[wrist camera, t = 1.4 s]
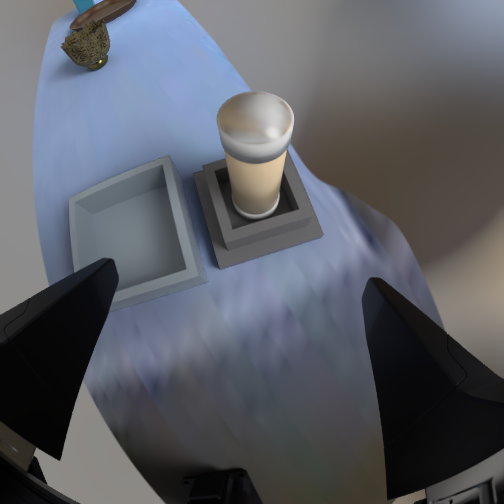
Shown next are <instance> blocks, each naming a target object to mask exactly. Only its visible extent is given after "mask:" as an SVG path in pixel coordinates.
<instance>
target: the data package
mask: <svg viewBox="0 0 504 504" xmlns="http://www.w3.org/2000/svg"><path fill="white" fill-rule="evenodd" d="M73 1H74V3H75V5H76V7H77V9H78V11H79V13H80V15H81V14H82V13H83V12H85V11H86V10H88V9H89V8H91V7H92V6H94V5H95V3H94V1H93V0H73Z"/></svg>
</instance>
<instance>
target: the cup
mask: <svg viewBox="0 0 504 504" xmlns="http://www.w3.org/2000/svg"><path fill="white" fill-rule="evenodd" d="M61 48H62V49H63V50H64V51H65V53H66V54H67V55H68V56H69V57H70V58H71V60H72V61H73V62H75V63H76V64H77V65H79V66H83V67H86V66H88V69H90V70H97V69H99V68H101V67H103V66H104V65H105V64H106V63H107V61H108V55H106V54H107V53H108V51H109V48H110V39H109V35H108V31H107V28H106V25H105V21H104V19H102V21H101V19H99V20H98V22H97V21H96V20H92V21H91V22H90V23H89V24H84V25H83V30H82V31H80V32H79V33H77V32H76V31H74V32H72V35H71V36H68V37H66V38H65V43H62V46H61Z"/></svg>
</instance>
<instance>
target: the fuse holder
mask: <svg viewBox="0 0 504 504" xmlns="http://www.w3.org/2000/svg"><path fill="white" fill-rule="evenodd" d="M203 169H204V170H202V171H199V172H196V173H193V175H194V179H195V183H196V187H197V191H198V194H199V198H200V202H201V205H202V209H203V213H204V216H205V220H206V223H207V227H208V230H209V234H210V237H211V241H212V244H213V248H214V251H215V254H216V258H217V261H218V265H219V268H220V269H224V268H228V267H231V266H234V265H237V264H240V263H243V262H247V261H250V260H253V259H256V258H259V257H262V256H265V255H269V254H272V253H275V252H278V251H281V250H284V249H287V248H290V247H294V246H297V245H300V244H303V243H306V242H309V241H312V240H315V239H318V238H321V237H322V236H323V235H324V234H323V231H322V229H321V226H320V224H319V221H318V219H317V216H316V214H315V211H314V209H313V207H312V204H311V202H310V199H309V197H308V195H307V192H306V190H305V188H304V185H303V183H302V181H301V178H300V176H299V174H298V172H297V169H296V167H295V165H294V163H293V160H292V158H291V156H290V154H289V152H288V150H287V151H286V157H285V162H284V168H283V173H282V179H281V184H280V190H279V193H280V196H279V202H278V207H277V210H276V212H275V213H274V214H273V216H272V217H270V218H269V219H265V220H262V221H259V222H249V221H246V220H244V219H242V218H241V217H240V216H239V215H238V214H237V213H236V211H235V209H234V205H233V200H232V188H231V183H230V178H229V173H228V167H227V162H226V159H223V160H219V161H216V162H213V163H210V164H206V165H203Z"/></svg>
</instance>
